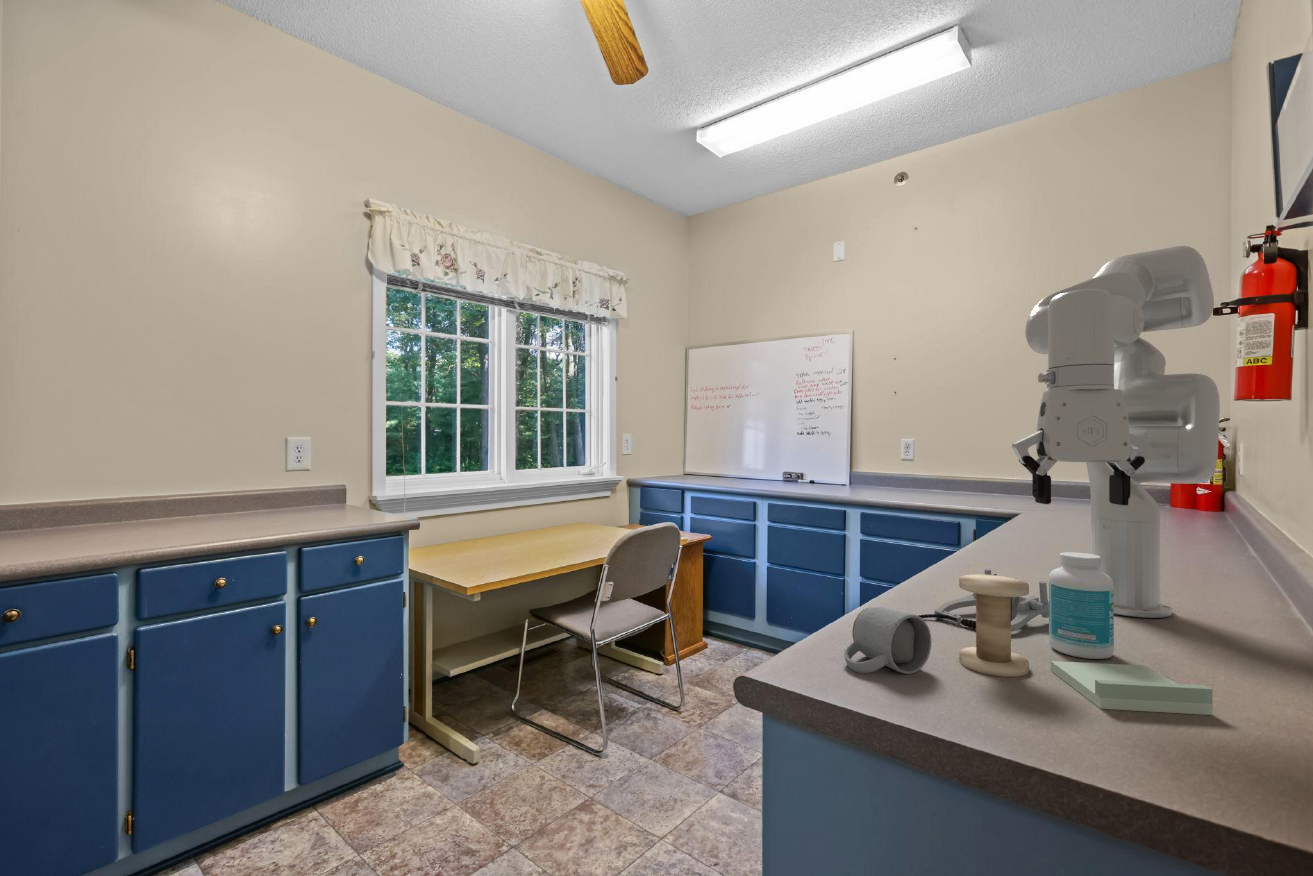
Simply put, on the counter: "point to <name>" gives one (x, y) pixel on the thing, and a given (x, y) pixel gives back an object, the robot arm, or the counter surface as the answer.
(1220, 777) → the counter surface
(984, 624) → the bobbin
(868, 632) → the ceramic mug
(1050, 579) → the pill bottle
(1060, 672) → the board
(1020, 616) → the bike brake
